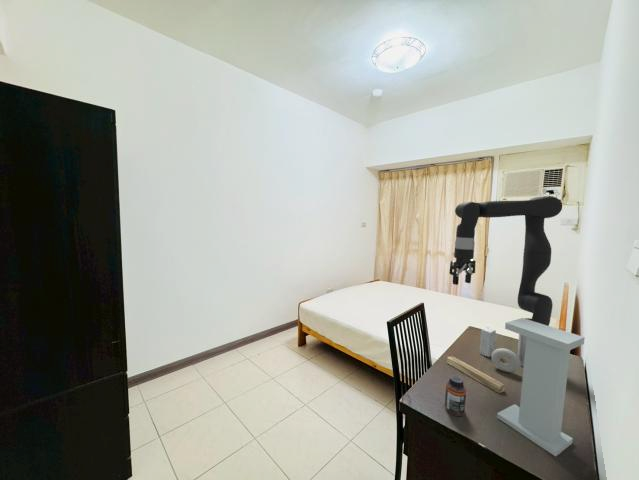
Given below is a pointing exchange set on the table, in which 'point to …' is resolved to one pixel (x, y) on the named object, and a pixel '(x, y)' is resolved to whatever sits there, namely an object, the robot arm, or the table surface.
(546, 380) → the stand
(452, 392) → the supplement bottle
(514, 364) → the donut
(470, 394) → the table surface
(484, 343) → the skincare box
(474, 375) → the beige block
